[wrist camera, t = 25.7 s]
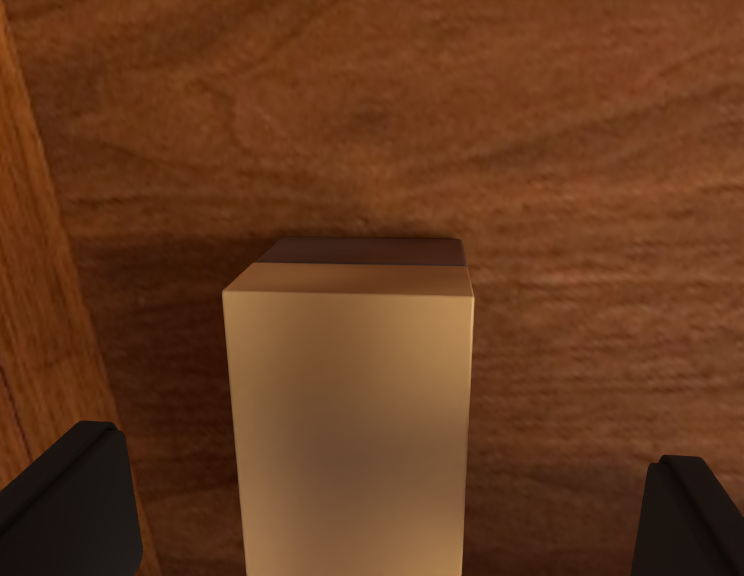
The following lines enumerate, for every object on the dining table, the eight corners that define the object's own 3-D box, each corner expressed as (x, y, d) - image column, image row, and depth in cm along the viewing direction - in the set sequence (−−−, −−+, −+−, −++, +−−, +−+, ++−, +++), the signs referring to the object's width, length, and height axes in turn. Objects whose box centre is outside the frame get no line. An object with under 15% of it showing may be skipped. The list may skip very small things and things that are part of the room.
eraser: (462, 238, 15) (475, 296, 10) (451, 514, 17) (458, 654, 13) (280, 236, 15) (220, 290, 11) (295, 505, 17) (251, 638, 13)
